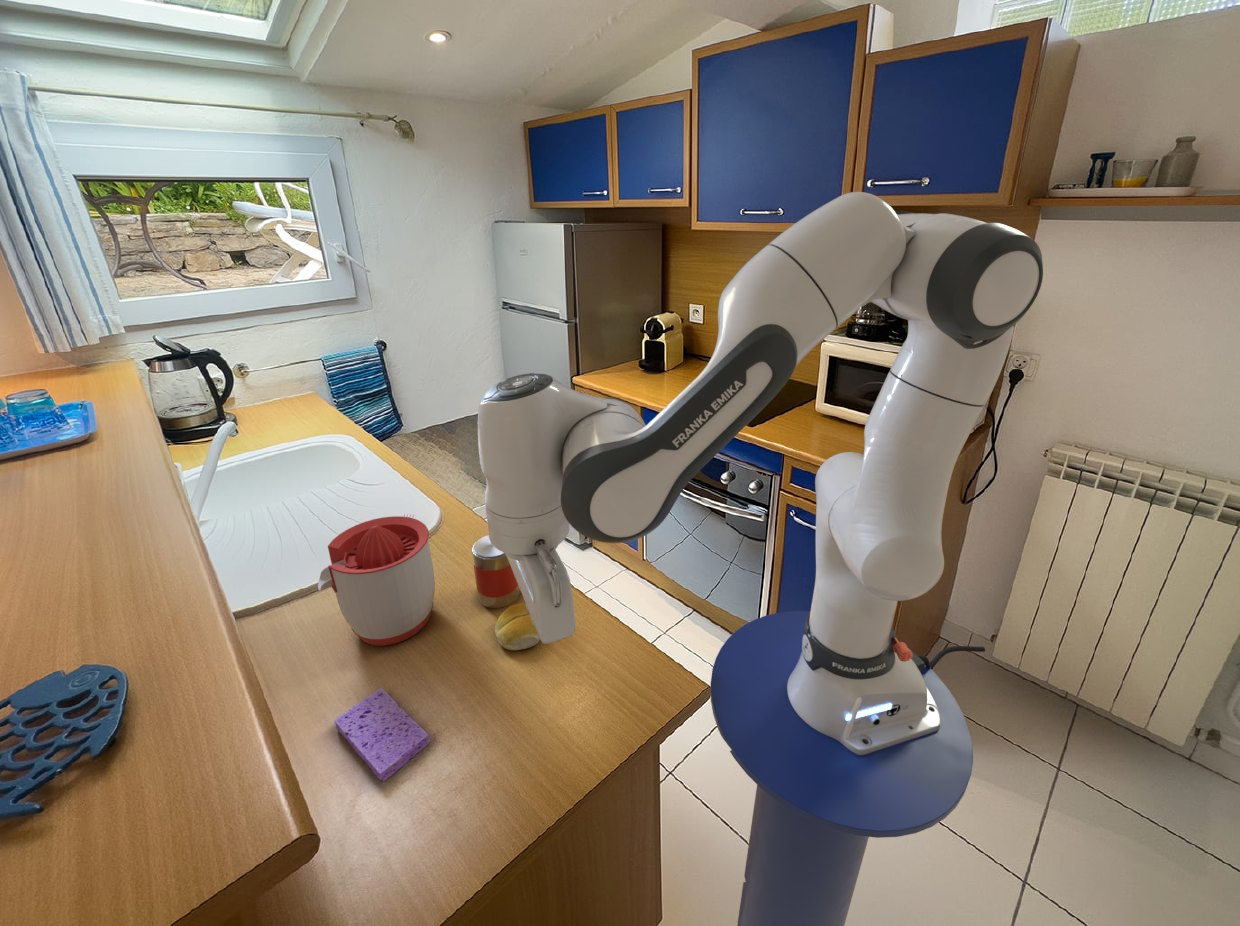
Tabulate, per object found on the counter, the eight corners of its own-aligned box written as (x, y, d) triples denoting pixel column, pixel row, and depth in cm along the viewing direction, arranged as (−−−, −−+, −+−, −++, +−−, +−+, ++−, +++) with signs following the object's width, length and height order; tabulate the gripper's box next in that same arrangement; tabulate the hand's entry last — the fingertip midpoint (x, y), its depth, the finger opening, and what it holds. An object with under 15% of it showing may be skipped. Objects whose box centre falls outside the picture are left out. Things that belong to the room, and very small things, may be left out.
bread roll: (539, 608, 98) (537, 591, 97) (549, 644, 91) (547, 625, 89) (492, 620, 96) (490, 602, 94) (498, 657, 88) (496, 638, 86)
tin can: (522, 579, 106) (518, 531, 101) (518, 607, 99) (513, 556, 94) (482, 581, 105) (475, 533, 101) (474, 610, 98) (467, 559, 94)
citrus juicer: (332, 612, 97) (306, 518, 89) (434, 582, 105) (418, 492, 97) (335, 675, 84) (305, 571, 76) (450, 635, 92) (433, 537, 84)
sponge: (383, 695, 81) (381, 686, 80) (431, 743, 74) (429, 733, 73) (335, 729, 76) (332, 719, 75) (382, 784, 69) (379, 774, 68)
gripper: (588, 565, 52) (592, 670, 57) (532, 473, 69) (539, 561, 74) (524, 583, 50) (534, 692, 55) (482, 483, 66) (493, 574, 72)
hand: (536, 616), depth 65 cm, fingers closed
